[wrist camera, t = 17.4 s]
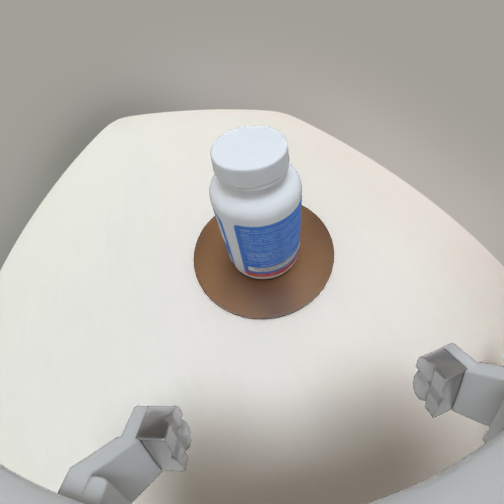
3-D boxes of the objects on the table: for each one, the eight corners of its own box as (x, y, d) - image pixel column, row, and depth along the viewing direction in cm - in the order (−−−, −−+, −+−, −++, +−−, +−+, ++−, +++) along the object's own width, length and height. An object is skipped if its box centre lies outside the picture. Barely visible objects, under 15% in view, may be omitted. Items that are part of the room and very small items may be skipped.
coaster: (293, 184, 25) (293, 181, 25) (359, 281, 20) (360, 278, 19) (181, 227, 24) (180, 224, 24) (220, 342, 18) (219, 341, 18)
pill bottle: (312, 241, 21) (323, 136, 13) (273, 294, 19) (264, 199, 11) (255, 211, 24) (241, 111, 15) (214, 257, 22) (176, 160, 13)
